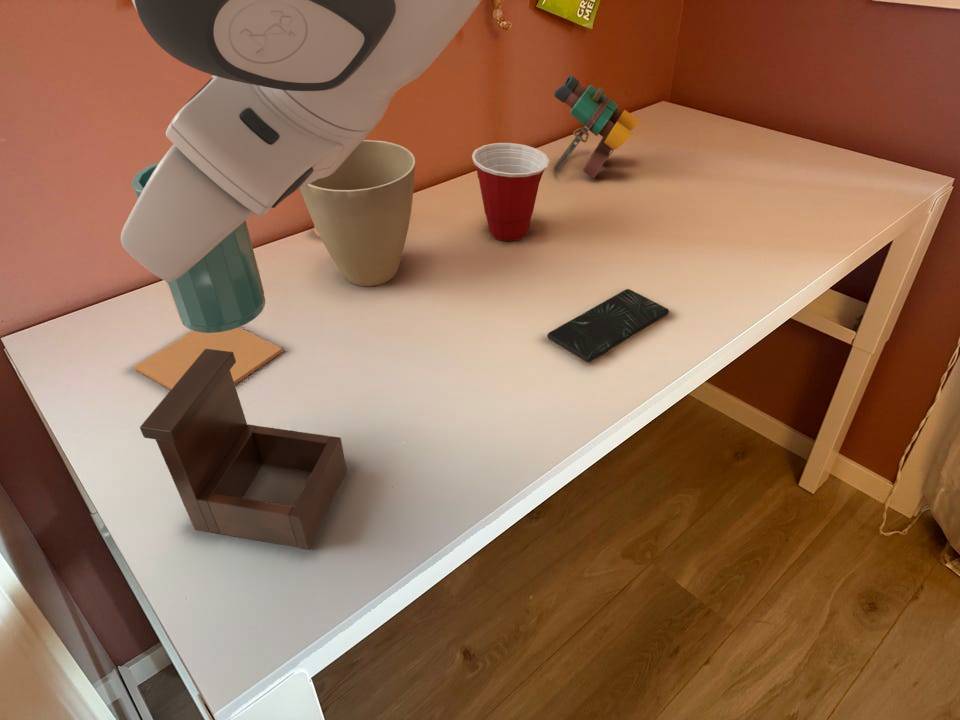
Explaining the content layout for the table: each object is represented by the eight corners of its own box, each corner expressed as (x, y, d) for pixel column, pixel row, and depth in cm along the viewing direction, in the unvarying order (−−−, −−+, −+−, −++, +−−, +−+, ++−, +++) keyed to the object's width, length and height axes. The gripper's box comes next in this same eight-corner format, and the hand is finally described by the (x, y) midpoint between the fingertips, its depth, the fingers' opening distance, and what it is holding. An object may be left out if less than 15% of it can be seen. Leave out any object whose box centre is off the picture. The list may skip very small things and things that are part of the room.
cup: (216, 343, 52) (171, 203, 45) (162, 315, 55) (112, 180, 48) (282, 301, 56) (250, 167, 49) (228, 277, 59) (191, 148, 52)
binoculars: (579, 204, 120) (633, 135, 110) (512, 154, 119) (560, 80, 109) (599, 171, 130) (650, 104, 120) (537, 124, 129) (584, 54, 119)
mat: (201, 408, 78) (199, 405, 78) (135, 370, 83) (133, 366, 83) (283, 351, 86) (282, 348, 85) (217, 319, 91) (216, 316, 91)
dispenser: (348, 466, 71) (327, 363, 62) (307, 553, 63) (276, 447, 55) (239, 450, 73) (205, 348, 65) (185, 532, 65) (138, 427, 57)
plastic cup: (548, 250, 102) (552, 170, 95) (473, 251, 103) (470, 172, 95) (544, 214, 111) (547, 139, 103) (474, 215, 111) (472, 140, 104)
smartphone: (670, 309, 89) (588, 359, 81) (669, 316, 89) (588, 366, 82) (627, 287, 93) (545, 333, 85) (626, 293, 93) (545, 339, 86)
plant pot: (293, 280, 98) (268, 170, 88) (369, 235, 107) (355, 131, 97) (372, 316, 91) (355, 201, 81) (446, 265, 100) (439, 156, 90)
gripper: (319, 18, 50) (226, 145, 58) (156, 126, 35) (60, 278, 43) (386, 86, 52) (288, 200, 60) (260, 216, 37) (150, 346, 45)
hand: (192, 233), depth 51 cm, fingers closed on cup, 6 cm apart
